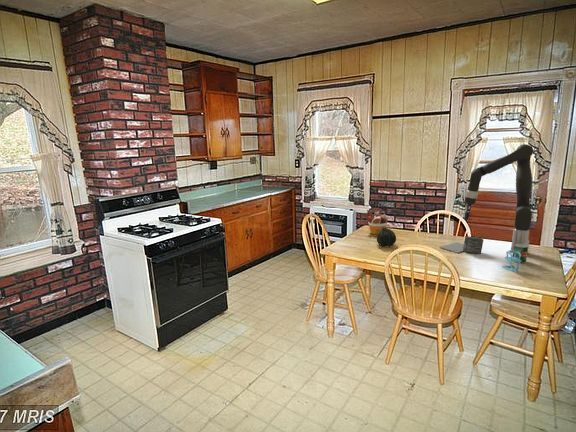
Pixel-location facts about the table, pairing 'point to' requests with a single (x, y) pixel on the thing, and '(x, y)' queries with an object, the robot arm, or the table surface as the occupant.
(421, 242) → the table surface
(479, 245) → the small box
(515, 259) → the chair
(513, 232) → the robot arm
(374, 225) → the bucket of meat
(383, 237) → the squash
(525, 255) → the canned tomato
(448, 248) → the mat
